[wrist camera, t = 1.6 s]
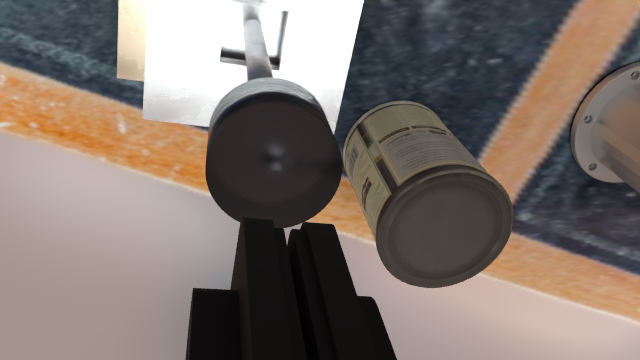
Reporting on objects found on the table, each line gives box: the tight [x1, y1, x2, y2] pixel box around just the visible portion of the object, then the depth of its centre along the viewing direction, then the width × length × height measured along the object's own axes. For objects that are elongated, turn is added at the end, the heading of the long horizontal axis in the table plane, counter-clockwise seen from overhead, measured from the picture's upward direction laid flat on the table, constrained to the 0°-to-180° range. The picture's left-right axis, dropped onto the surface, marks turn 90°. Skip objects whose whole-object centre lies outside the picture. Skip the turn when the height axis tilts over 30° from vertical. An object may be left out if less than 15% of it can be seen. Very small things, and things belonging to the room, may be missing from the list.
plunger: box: [206, 1, 342, 228], centre depth 22 cm, size 7×7×16 cm
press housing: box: [117, 0, 364, 134], centre depth 35 cm, size 18×18×18 cm
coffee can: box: [343, 101, 513, 288], centre depth 46 cm, size 10×10×14 cm
